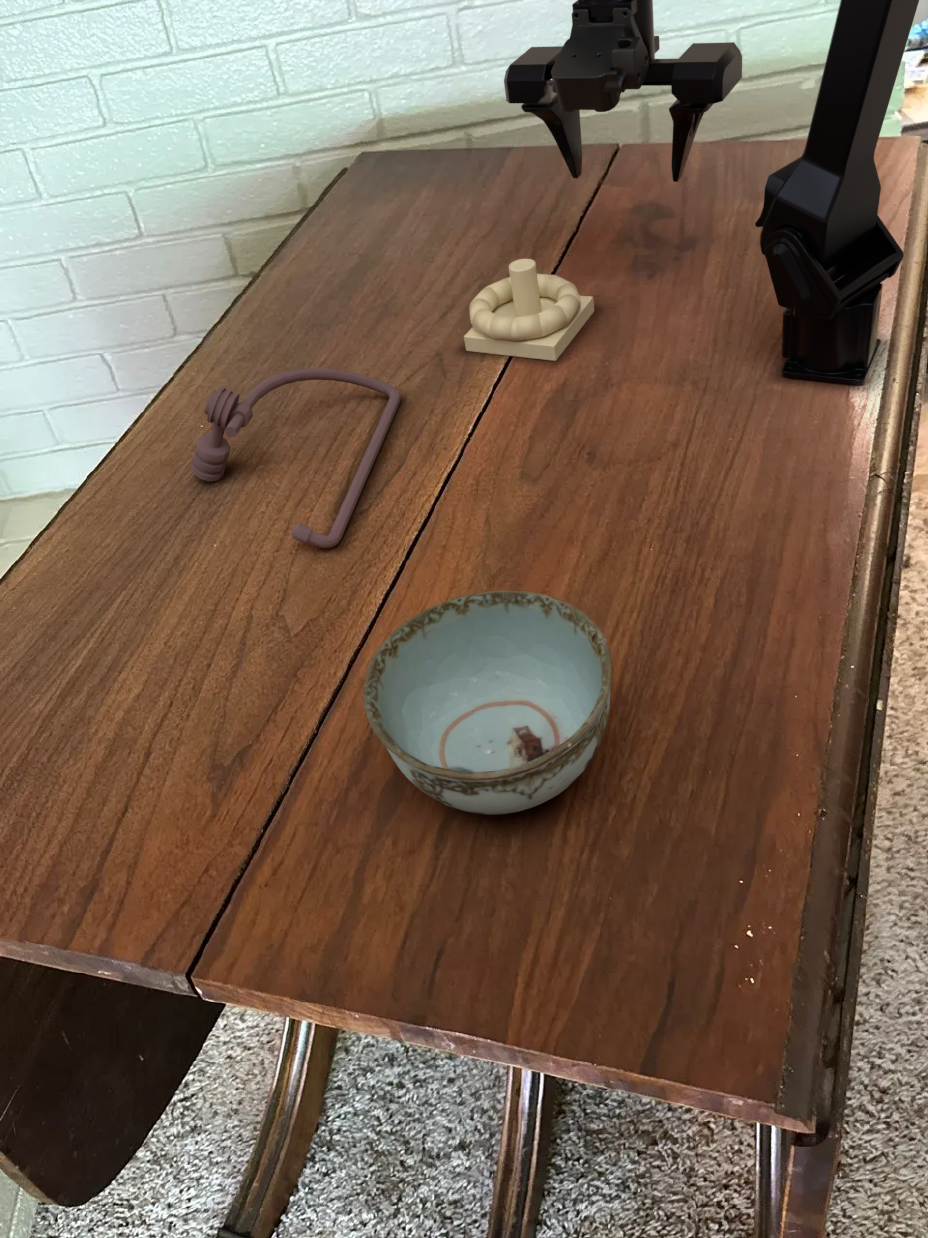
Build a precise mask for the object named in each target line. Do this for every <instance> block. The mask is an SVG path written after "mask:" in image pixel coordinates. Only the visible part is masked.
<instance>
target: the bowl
mask: <svg viewBox="0 0 928 1238" xmlns="http://www.w3.org/2000/svg"><path fill="white" fill-rule="evenodd" d="M612 681H613V661H612V654H611V648H610V647H609V644H608V642H607V638H606V637H605V635H604V633H603V631H602V629H601V628H600V626H598V624H597V623H596V622H595V621H594V620H593V619H592V618H591V617H590V616H589V615H587V614H586V613H585V612H584V611H582V610H581V609H580V608H579V607H576V606H575V605H573V604H570V603H569V602H566V601H564V600H562V599H560V598H557V597H555V596H550V595H547V594H541V593H539V592H533V591H523V590H488V591H483V592H476V593H471V594H465V595H461V596H456V597H454V598H451V599H447V600H445V601H443V602H441V603H437V604H435V605H432V606H430V607H428V608H426V609H424V610H423V611H421V612H419V613H418V614H415V615H414V616H413V617H411V618H409V619H408V620H407V619H406V621H405V622H404V623H401V624H400V626H399V627H397V628H396V629H395V630H394V631H393V632H392V633H391V634H390V635H389V636H388V637H387V638H386V640H384V642H383V643H382V644H381V645H380V646H379V647H378V648H377V650H376V652H375V653H374V655H373V657H372V659H371V661H370V663H369V665H368V667H367V669H366V673H365V678H364V681H363V693H362V701H363V707H364V712H365V716H366V718H367V720H368V723H369V725H370V727H371V730H372V731H373V732H374V733H375V735H376V736H377V738H378V739H379V740H380V741H381V743H382V744H383V745H384V747H385V749H386V750H387V752H388V754H389V755H390V757H391V759H392V761H394V763H395V765H396V766H397V768H398V769H399V770H400V772H401V773H402V774H403V775H404V777H405V778H406V779H408V780H409V781H410V782H411V783H412V784H413V785H414V786H415V787H416V788H417V789H418V790H420V792H422V793H423V794H425V795H426V796H428V797H430V798H431V799H433V800H435V801H436V802H439V803H440V804H442V805H445V806H446V807H449V808H452V809H455V810H459V811H462V812H466V813H471V814H476V815H477V814H478V815H506V814H512V813H518V812H521V811H525V810H529V809H532V808H534V807H537V806H539V805H542V804H544V803H545V802H547V801H549V800H552V799H554V798H555V797H556V796H558V795H560V794H561V793H562V792H564V791H565V790H566V789H567V788H568V787H570V786H571V785H572V784H573V783H574V782H575V781H576V780H577V779H578V778H579V777H580V776H581V775H582V774H583V773H584V772H585V770H586V769H587V768H588V766H589V765H590V763H591V762H592V761H593V759H594V757H595V756H596V754H597V752H598V749H599V748H600V746H601V744H602V742H603V739H604V736H605V733H606V729H607V726H608V722H609V715H610V707H611V704H610V703H611V687H612Z"/></svg>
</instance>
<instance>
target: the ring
mask: <svg viewBox="0 0 928 1238" xmlns="http://www.w3.org/2000/svg"><path fill="white" fill-rule="evenodd" d="M537 278H538V286H539V294H540V296H541V297H550V298H552V299H554V300H556V301H557V302H556V304H555V305H554V306H553V307H551V308H549V309H547V310H545V311H542V312H540V313H538V314H534V315H528V316H523V317H517V318H515V317H505V316H497V315H496V314H494V313H492V311H493V310H494V309H495V308H496V307H497V306H499V305H501V304H503V303H505V302H507V301H510V300H512V299H513V295H512V288H511V281H510V276H508V277H505V278H502V279H500V280H498V281H496V282H493V283H491V284H489V285H487V286H485V287H483V288H482V289H481V291H480V292H479V293H477V295H476V296H475V297H474V298H473V299H472V300H471V301H470V303H469V307H468V309H469V319H470V320H469V321H470V324H471V326H472V327H474V328H475V329H476V330H478V331H479V332H481V333H483V334H484V335H486V336H488V337H489V338H492V339H500V340H509V341H521V340H527V339H533V338H539V337H544V336H546V335H548V334H550V333H552V332H554V331H556V330H559V329H561V328H563V327H565V326H566V325H568V324H569V322H570V321H571V320H572V319H573V317H574V316H575V315H576V314H577V312H578V311H579V309H580V306H581V301H580V297H579V296H580V294H579V290H578V288H577V286H576V285H575V284H574V283H573V282H571V281H569V280H567V279H565V278H563V277H561V276H559V275H556V274H549V273H548V274H547V273H537Z"/></svg>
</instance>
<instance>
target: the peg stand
mask: <svg viewBox="0 0 928 1238" xmlns="http://www.w3.org/2000/svg"><path fill="white" fill-rule="evenodd" d="M508 271H509V272H508V273H509V277H510V281H511V288H512V295H513V299H512V300H510V301H507V302H505V303H503V304H501V305H499V306H497V307H496V308H495V309H494V310H493V311H492V313H494V314H496V315H497V316H505V317H515V318H517V317H523V316H528V315H534V314H538V313H540V312H542V311H545V310H547V309H549V308H551V307H553V306H554V305H555V304H556V302H557V301H556V300H554V299H552V298H550V297H541V296H540V294H539V286H538V278H537V274H538V271H537V263H536V261H535V260H534V259H531V258H519V259H516V260H513V261H512V262H511V263H509V265H508ZM579 297H580V301H581V306H580V309H579V311H578V312H577V314H576V315H575V316H574V317H573V319H572V320H571V321H570V322H569V324H568V325H566V326H565V327H563V328H561V329H559V330H556V331H554V332H552V333H550V334H548V335H546V336H544V337H539V338H533V339H527V340H521V341H509V340H500V339H492V338H489V337H488V336H486V335H484V334H483V333H481V332H479V331H478V330H476V329H475V328H474V327H473V326H472V327H470V329H469V330H468V331H467V332H466V334H464V335H463V340H464V347H465V350H466V352H472V353H473V352H474V353H482V354H490V355H498V356H499V355H500V356H507V357H516V358H526V359H533V360H534V359H535V360H543V361H551V362H556V361H557V360H558V359H559V358H560V356H562V354H563V353H564V351H565V350H566V349H567V348H568V346H569V345H570V344H571V342H572V341H573V340H574V338H576V336H577V334H578V333H579V332H580V330H581V329H582V328H583V327H584V325H585V324H586V323H587V321H588V320H589V319H590V318H591V316H593V314H594V312H595V305H594V303H595V302H594V301H595V300H594V296H588V295H579Z"/></svg>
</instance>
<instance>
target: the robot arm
mask: <svg viewBox="0 0 928 1238" xmlns="http://www.w3.org/2000/svg"><path fill="white" fill-rule="evenodd" d="M919 3H920V0H840V1H839V5H838V9H837V13H836V18H835V22H834V26H833V30H832V35H831V39H830V43H829V48H828V51H827V55H826V59H825V62H824V67H823V72H822V75H821V80H820V84H819V88H818V92H817V97H816V100H815V105H814V109H813V113H812V117H811V120H810V121H811V122H810V126H809V129H808V132H807V133H808V134H807V138H806V142H805V146H804V150H803V152H802V154H801V156H799V157H797V158H796V159H794V160H792V161H791V162H789V163H787V164H786V165H784V166H783V167H780V168H779V169H777V170H776V171H774V172H772V173H770V174H769V175H768V176H767V180H766V183H765V186H764V193H763V195H764V197H763V205H762V209H761V212H760V216H759V217H758V218H757V220H756V221H755V223H754V226H755V227H756V228H761V231H760V234H759V235H760V237H759V245H760V251H761V254H762V255H763V256H765V261H766V264H767V267H768V272H769V275H770V279H771V282H772V285H773V290H774V294H775V297H776V301H777V305H778V306H779V307H782V308H784V310H783V312H782V329H781V330H782V331H781V353H780V354H781V357H782V358H783V359H786V360H785V361H784V364H783V366H782V367H781V375H782V377H786V378H792V379H793V378H795V379H803V380H813V381H821V382H829V383H840V384H847V385H848V384H849V385H863V384H865V382H866V380H867V378H868V376H869V374H870V372H871V369H872V367H873V364H874V362H875V360H876V357H877V355H878V353H879V350H880V348H881V343H882V340H881V338H878V332H879V324H880V323H879V322H880V313H881V302H882V301H881V300H882V294H883V282H884V281H885V280H887V279H890V278H892V277H893V276H895V274H896V273H897V271H898V268H899V267H900V265H901V263H902V261H903V259H904V257H905V253H904V251H903V249H902V248H901V247H900V245H899V244H898V242H897V241H896V240H895V238H894V236H893V234H892V233H891V232H890V230H889V228H887V227H886V225H885V223H884V222H883V220H882V219H881V217H880V216H879V214H878V213H879V205H880V198H881V190H882V185H881V181H880V177H879V174H878V170H877V169H878V168H877V165H876V163H875V154H876V153H875V152H876V148H877V145H878V141H879V138H880V135H881V134H880V133H881V131H882V128H883V124H884V121H885V118H886V114H887V110H888V107H889V104H890V100H891V97H892V93H893V91H894V87H895V84H896V80H897V77H898V74H899V70H900V67H901V63H902V61H903V57H904V53H905V50H906V47H907V43H908V40H909V36H910V33H911V29H912V26H913V23H914V19H915V17H916V12H917V10H918V5H919ZM571 6H572V12H571V23H572V24H571V29H570V34H569V38H567V40H565V42H564V43H563V45H562V46H561V45H559V46H552V45H551V46H531V47H529V48H528V49H527V50H526V51H525V52H524V53H522V54H521V55H520V56H519V57H517V58H516V59H515V60H514V61H512V62H511V64H509V65H508V67H507V69H506V70H505V74H504V78H503V86H504V91H505V92H504V93H505V101H506V102H507V103H508V104H521V105H520V108H521V110H522V111H523V112H524V113H529V114H533V115H534V116H536V117H537V118H538V119H540V120H541V121H542V122H543V123H544V125H546V127H547V128H548V130H549V132H550V134H551V135H552V138H553V139H554V141H555V143H556V145H557V147H558V149H559V152H560V154H561V156H562V158H563V160H564V162H565V164H566V166H567V168H568V170H569V173H570V175H571V177H572V179H579V178H580V176H581V175H582V171H583V145H582V144H583V142H582V130H581V113H580V111H595V112H597V113H606V112H609V111H611V110H613V109H614V108H616V107H617V105H618V104H619V102H620V99H621V94H622V93H625V91H626V90H640V89H641V88H642V87H645V86H646V87H647V86H650V87H651V86H654V87H657V86H658V87H660V86H661V87H662V86H663V87H664V86H665V87H666V86H670V90H671V95H672V96H674V98H675V99H676V100H675V101H674V102H673V104H671V105H670V107H669V108H668V112H669V114H670V117H671V121H672V145H671V172H672V173H671V177H672V182H674V183H678V182H679V181H680V180H681V178H682V177H683V173H684V171H685V167H686V164H687V162H688V159H689V156H690V152H691V149H692V146H693V143H694V140H695V138H696V134H697V131H698V129H699V126H700V124H701V121H702V118H703V116H704V114H705V113H706V112H708V111H710V109H711V108H712V106H713V105H715V104H717V103H721V102H723V101H724V100H725V99H726V98H727V97H728V95H729V94H730V93H731V91H732V90H733V89H734V88H735V87H736V86H737V84H738V83H739V82H740V81H741V80H742V78H743V55H742V52H741V50H740V48H739V47H738V45H737V44H736V43H735V42H732V41H731V42H730V41H729V42H728V41H727V42H693V43H692V44H691V45H690V46H688V48H687V49H686V50H685V51H684V52H683V53H682V54H681V55H680V56H679V57H678V58H656V53H658V52H659V50H660V47H661V46H660V35H655V25H654V23H655V22H654V21H655V20H654V0H576V1H575V2H573V3H572V4H571Z"/></svg>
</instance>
